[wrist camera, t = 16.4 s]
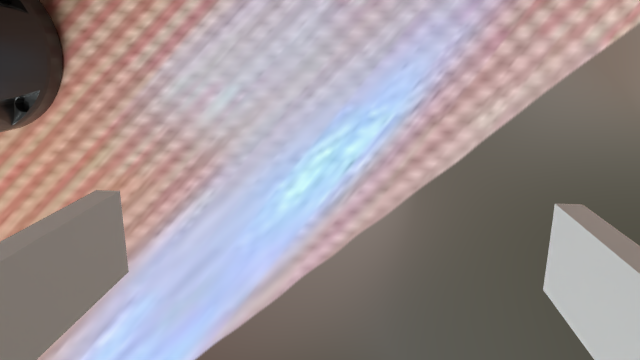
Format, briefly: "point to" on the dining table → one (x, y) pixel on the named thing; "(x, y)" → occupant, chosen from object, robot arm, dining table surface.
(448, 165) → the dining table surface
